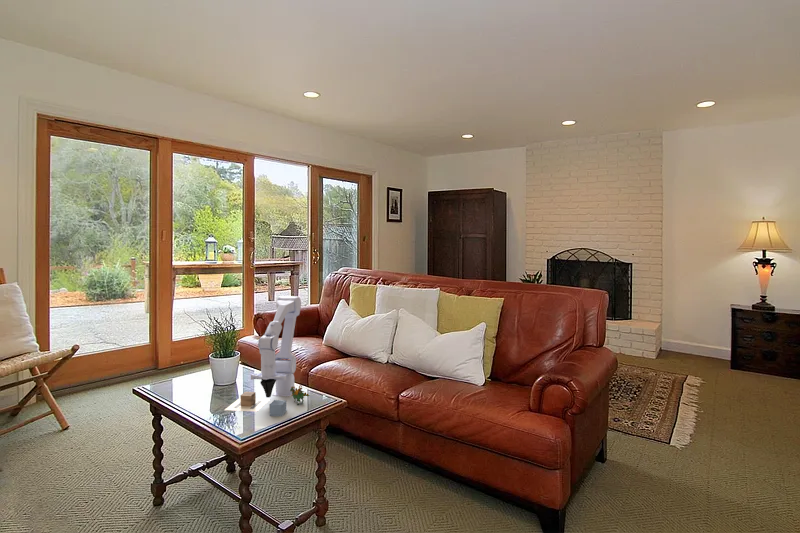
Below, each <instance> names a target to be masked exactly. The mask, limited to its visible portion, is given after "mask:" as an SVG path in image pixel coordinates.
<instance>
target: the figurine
mask: <svg viewBox="0 0 800 533" xmlns="http://www.w3.org/2000/svg"><path fill="white" fill-rule="evenodd" d="M293 388H294V389H296V390H294V389H293ZM290 391H292V394H291V395H290V396H289V397H292V398H293V399H294V400H293V401H294V403H296V402H298V403H297V405H300V406H301V404H304V397H311V395H309V393H307V392H306V391H304V390H303V386H302V385H301V384H300V385H299V386H298V388H297V387H296V386H295V385H294V387H291V390H290Z"/></svg>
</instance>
